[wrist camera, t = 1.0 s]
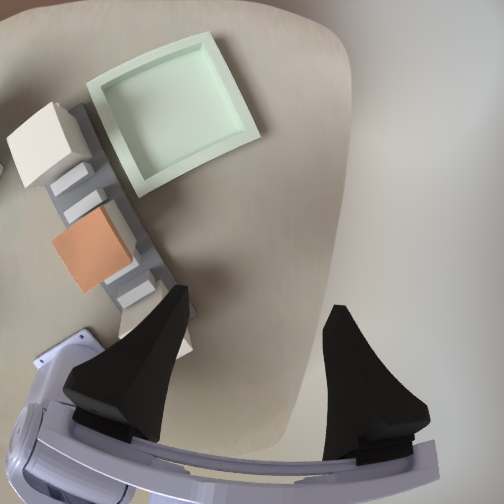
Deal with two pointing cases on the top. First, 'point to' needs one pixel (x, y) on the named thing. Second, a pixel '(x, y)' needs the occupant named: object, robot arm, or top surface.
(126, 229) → the block
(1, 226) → the top surface
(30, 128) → the block
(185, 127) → the tray
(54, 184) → the fuse holder
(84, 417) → the robot arm
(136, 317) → the block
